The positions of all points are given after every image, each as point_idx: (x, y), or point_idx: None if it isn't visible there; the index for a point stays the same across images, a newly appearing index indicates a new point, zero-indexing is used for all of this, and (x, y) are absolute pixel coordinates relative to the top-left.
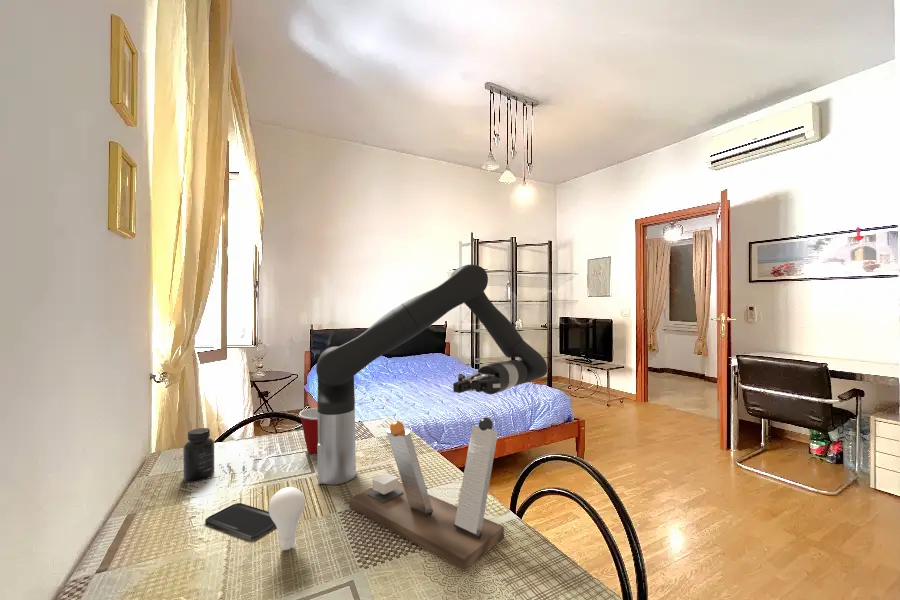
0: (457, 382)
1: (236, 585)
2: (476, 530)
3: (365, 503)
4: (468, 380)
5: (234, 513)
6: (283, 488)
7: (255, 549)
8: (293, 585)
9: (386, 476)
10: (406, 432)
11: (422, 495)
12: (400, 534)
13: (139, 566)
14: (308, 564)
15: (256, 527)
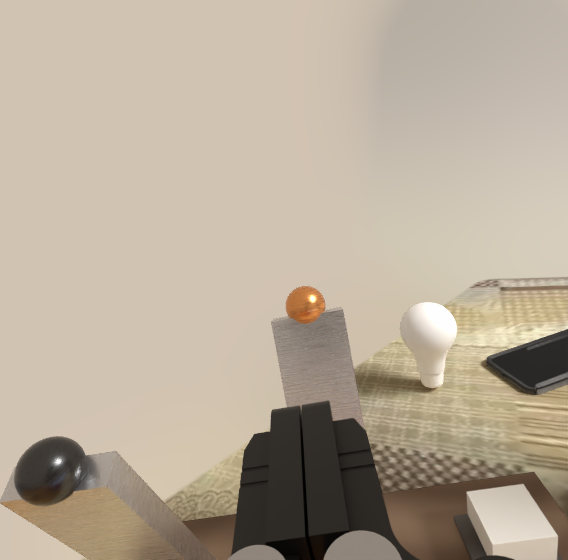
0: (314, 422)
1: (393, 349)
2: None
3: (482, 488)
4: (270, 553)
5: None
6: (433, 303)
7: (459, 363)
8: None
9: (523, 521)
10: (278, 319)
11: None
12: None
13: (492, 303)
14: (377, 396)
15: (517, 363)
